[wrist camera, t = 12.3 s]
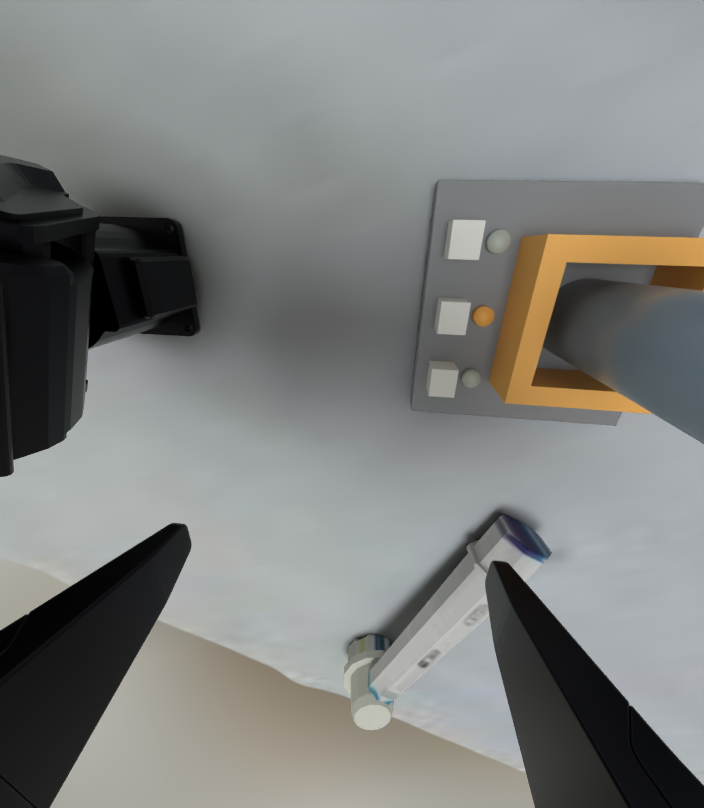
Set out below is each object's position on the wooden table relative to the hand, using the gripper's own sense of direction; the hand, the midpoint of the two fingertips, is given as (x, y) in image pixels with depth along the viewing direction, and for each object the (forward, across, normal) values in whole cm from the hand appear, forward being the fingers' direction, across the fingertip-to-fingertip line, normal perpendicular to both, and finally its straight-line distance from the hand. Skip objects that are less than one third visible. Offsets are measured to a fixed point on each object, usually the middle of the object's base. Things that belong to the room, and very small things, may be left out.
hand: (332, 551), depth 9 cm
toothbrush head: (+14, -6, +21) cm, 26 cm away
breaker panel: (+13, -9, -5) cm, 17 cm away
